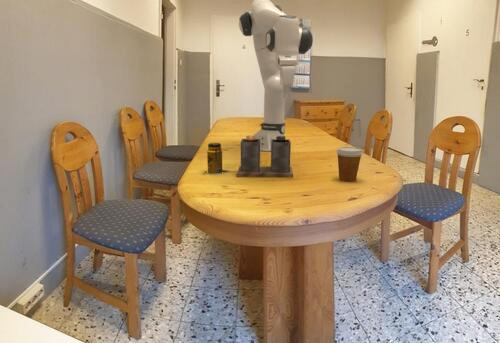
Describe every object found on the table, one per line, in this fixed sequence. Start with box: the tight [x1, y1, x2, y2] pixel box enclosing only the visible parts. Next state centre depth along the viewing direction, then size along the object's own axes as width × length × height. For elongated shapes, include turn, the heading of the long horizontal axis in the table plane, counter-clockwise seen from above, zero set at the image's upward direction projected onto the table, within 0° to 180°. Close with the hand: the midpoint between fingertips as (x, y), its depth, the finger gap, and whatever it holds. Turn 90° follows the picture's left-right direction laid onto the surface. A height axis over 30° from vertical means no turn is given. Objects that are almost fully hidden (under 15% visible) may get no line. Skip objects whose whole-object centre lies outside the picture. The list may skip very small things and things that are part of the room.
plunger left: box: [245, 135, 255, 142], centre depth 150 cm, size 5×5×12 cm
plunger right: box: [276, 135, 286, 142], centre depth 149 cm, size 5×5×12 cm
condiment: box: [206, 142, 229, 176], centre depth 153 cm, size 7×8×12 cm
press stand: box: [236, 138, 294, 179], centre depth 150 cm, size 22×12×14 cm, turn 87°
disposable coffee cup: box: [336, 146, 363, 183], centre depth 142 cm, size 10×10×12 cm
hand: (285, 98), depth 144 cm, fingers closed
